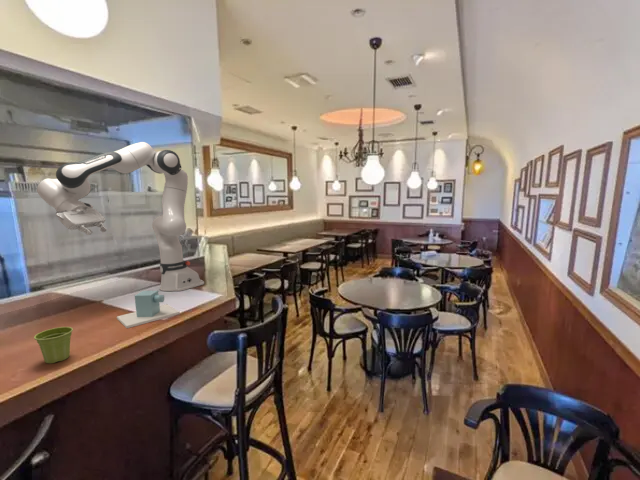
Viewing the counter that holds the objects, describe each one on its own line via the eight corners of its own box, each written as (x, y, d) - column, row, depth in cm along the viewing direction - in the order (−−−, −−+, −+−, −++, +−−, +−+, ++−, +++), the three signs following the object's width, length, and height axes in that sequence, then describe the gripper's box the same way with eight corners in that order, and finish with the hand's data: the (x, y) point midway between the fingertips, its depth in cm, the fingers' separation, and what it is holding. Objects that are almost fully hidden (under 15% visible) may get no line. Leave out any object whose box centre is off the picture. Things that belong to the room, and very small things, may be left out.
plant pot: (55, 351, 109) (51, 326, 108) (83, 351, 109) (79, 326, 107) (29, 366, 100) (25, 339, 98) (60, 366, 99) (56, 339, 98)
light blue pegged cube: (145, 311, 141) (142, 290, 140) (167, 310, 141) (165, 290, 140) (136, 317, 135) (134, 295, 134) (160, 316, 135) (158, 295, 134)
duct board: (167, 306, 150) (165, 292, 149) (179, 313, 140) (178, 298, 139) (116, 318, 136) (115, 303, 135) (126, 328, 126) (124, 311, 125)
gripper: (57, 206, 132) (85, 230, 133) (93, 203, 152) (116, 224, 153) (48, 217, 133) (76, 241, 134) (84, 213, 153) (108, 234, 154)
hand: (98, 232), depth 144 cm, fingers open, 8 cm apart
